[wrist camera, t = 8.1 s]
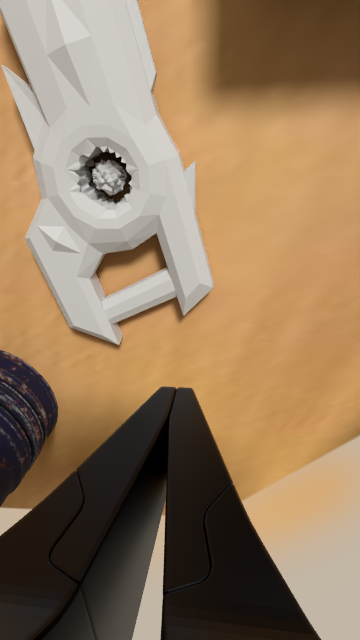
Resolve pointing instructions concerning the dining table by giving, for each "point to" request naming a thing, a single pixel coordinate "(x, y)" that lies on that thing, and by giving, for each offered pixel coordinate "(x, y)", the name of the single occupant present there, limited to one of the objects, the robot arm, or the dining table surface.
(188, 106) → the dining table surface
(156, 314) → the dining table surface
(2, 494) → the dark blue cylinder
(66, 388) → the dining table surface
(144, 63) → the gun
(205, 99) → the dining table surface
